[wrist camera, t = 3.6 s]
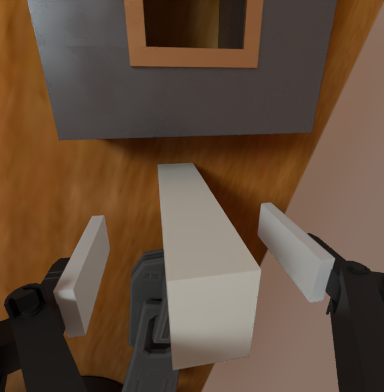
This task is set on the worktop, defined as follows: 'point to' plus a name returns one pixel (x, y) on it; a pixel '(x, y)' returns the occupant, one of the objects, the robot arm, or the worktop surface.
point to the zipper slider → (150, 328)
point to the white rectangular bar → (204, 273)
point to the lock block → (182, 70)
